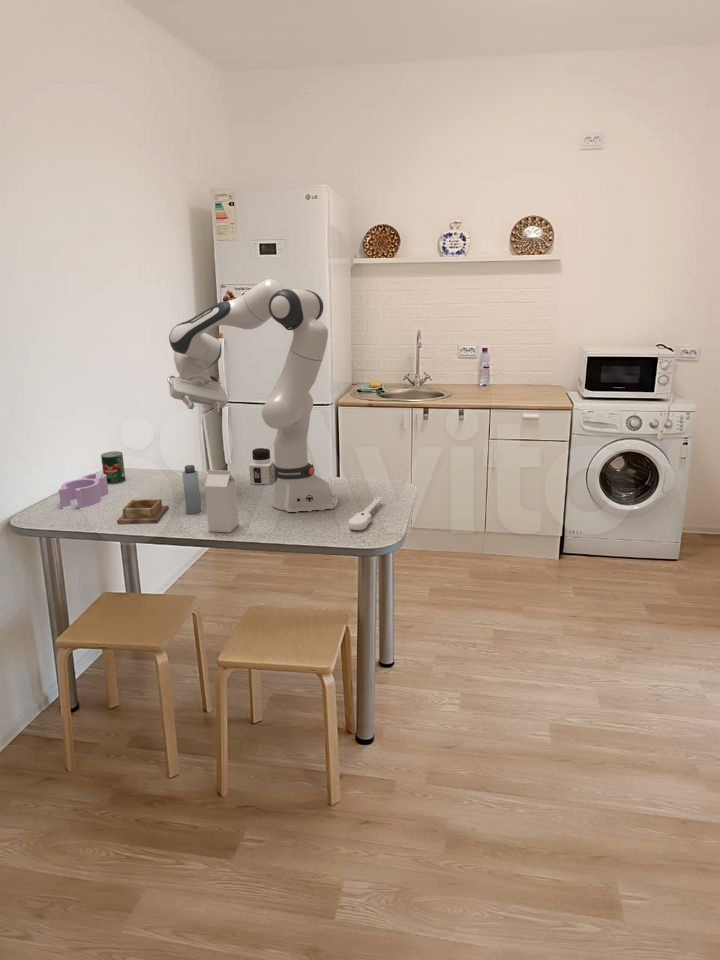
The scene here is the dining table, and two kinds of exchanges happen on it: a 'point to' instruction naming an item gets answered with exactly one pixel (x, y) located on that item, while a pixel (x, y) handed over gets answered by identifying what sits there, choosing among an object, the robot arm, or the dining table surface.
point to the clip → (84, 490)
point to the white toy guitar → (363, 516)
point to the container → (261, 467)
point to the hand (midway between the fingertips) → (204, 410)
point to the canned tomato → (113, 467)
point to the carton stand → (143, 511)
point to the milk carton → (221, 501)
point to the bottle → (191, 490)
